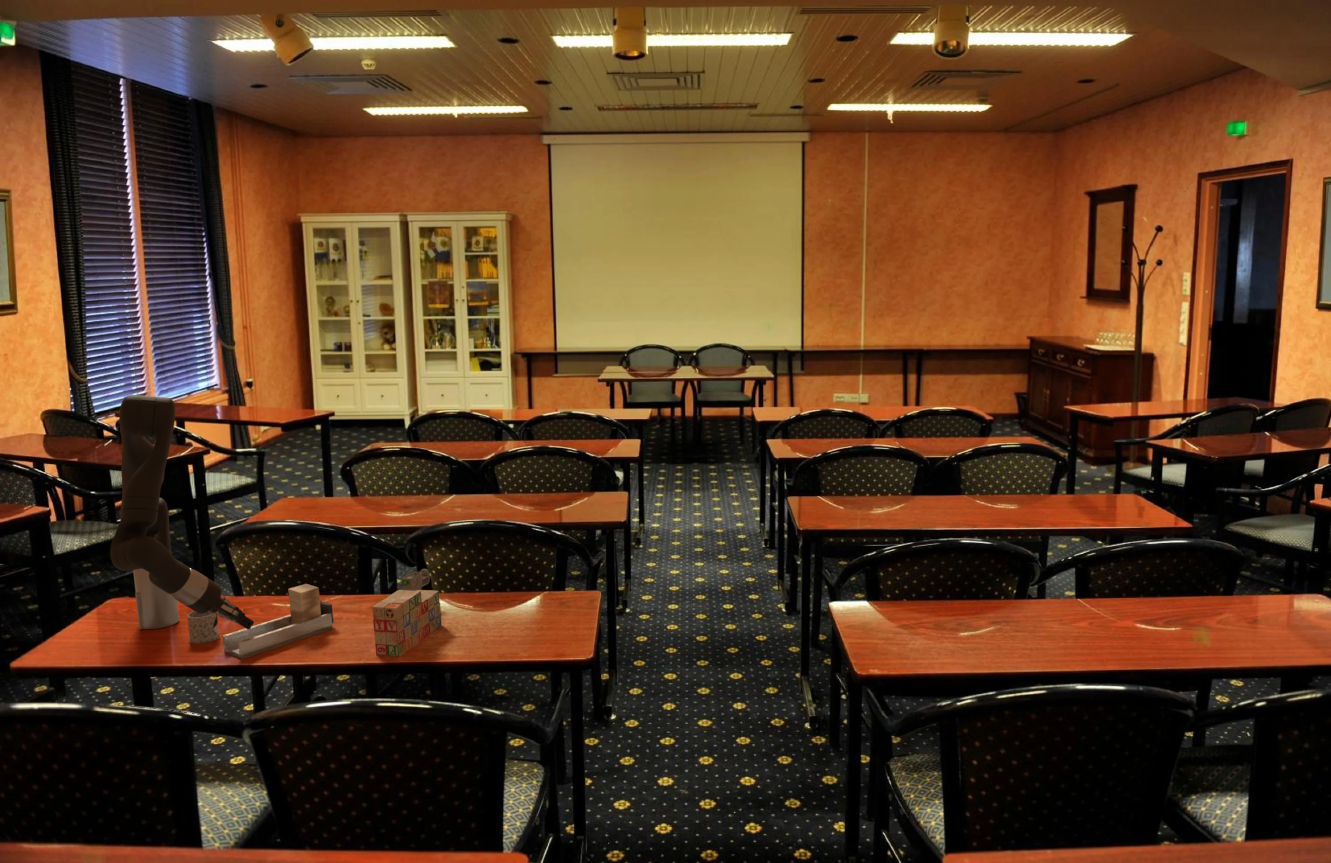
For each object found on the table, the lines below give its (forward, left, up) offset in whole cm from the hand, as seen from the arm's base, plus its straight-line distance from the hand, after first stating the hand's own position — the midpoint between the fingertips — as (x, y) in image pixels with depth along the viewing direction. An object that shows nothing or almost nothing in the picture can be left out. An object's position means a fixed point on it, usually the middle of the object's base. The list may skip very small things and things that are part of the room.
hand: (250, 625), depth 234 cm
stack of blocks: (+35, -14, -6) cm, 38 cm away
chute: (+6, +3, -6) cm, 9 cm away
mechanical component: (+41, +7, -6) cm, 43 cm away
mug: (-11, +15, -6) cm, 20 cm away
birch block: (+13, +6, -5) cm, 15 cm away
